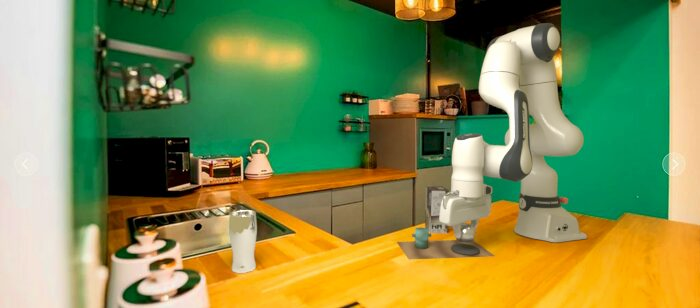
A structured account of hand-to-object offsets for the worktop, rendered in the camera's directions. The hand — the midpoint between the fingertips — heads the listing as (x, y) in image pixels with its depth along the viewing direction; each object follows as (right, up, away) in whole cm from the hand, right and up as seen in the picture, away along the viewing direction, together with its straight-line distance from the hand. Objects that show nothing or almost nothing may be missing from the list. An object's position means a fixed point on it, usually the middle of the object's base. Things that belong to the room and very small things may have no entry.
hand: (465, 235), depth 96 cm
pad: (0, -5, 0) cm, 5 cm away
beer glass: (-62, -7, -10) cm, 63 cm away
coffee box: (-3, -4, +21) cm, 22 cm away
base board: (-6, -6, +2) cm, 8 cm away
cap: (0, -1, 0) cm, 1 cm away
